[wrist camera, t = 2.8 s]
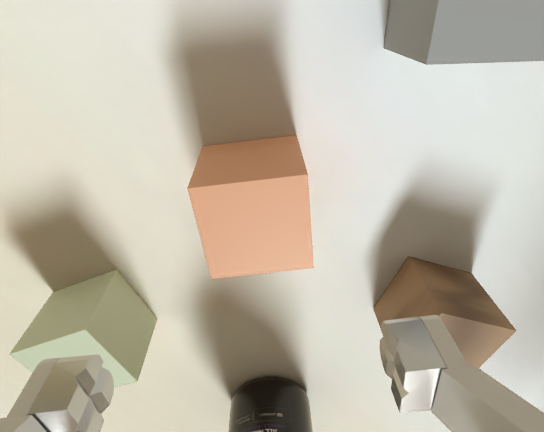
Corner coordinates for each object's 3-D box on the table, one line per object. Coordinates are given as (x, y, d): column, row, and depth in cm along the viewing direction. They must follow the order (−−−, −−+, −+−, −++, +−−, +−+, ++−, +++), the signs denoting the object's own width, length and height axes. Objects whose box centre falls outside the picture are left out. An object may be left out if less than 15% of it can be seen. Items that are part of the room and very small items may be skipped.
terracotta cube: (296, 134, 19) (307, 174, 14) (302, 214, 21) (313, 267, 17) (203, 145, 19) (187, 188, 15) (220, 223, 21) (211, 278, 17)
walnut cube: (470, 272, 24) (516, 330, 20) (431, 320, 27) (464, 381, 22) (407, 255, 23) (441, 313, 19) (372, 307, 26) (395, 368, 21)
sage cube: (117, 268, 23) (85, 329, 19) (157, 317, 25) (137, 381, 21) (53, 290, 24) (9, 354, 20) (99, 336, 26) (68, 401, 22)
